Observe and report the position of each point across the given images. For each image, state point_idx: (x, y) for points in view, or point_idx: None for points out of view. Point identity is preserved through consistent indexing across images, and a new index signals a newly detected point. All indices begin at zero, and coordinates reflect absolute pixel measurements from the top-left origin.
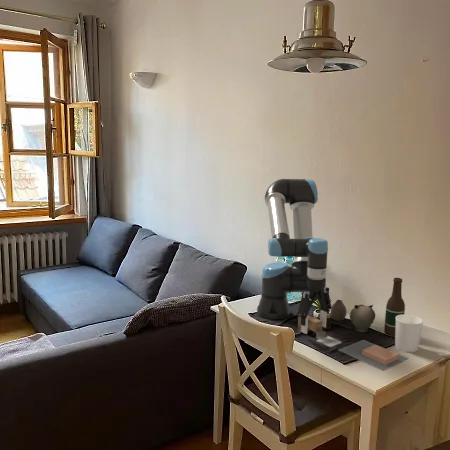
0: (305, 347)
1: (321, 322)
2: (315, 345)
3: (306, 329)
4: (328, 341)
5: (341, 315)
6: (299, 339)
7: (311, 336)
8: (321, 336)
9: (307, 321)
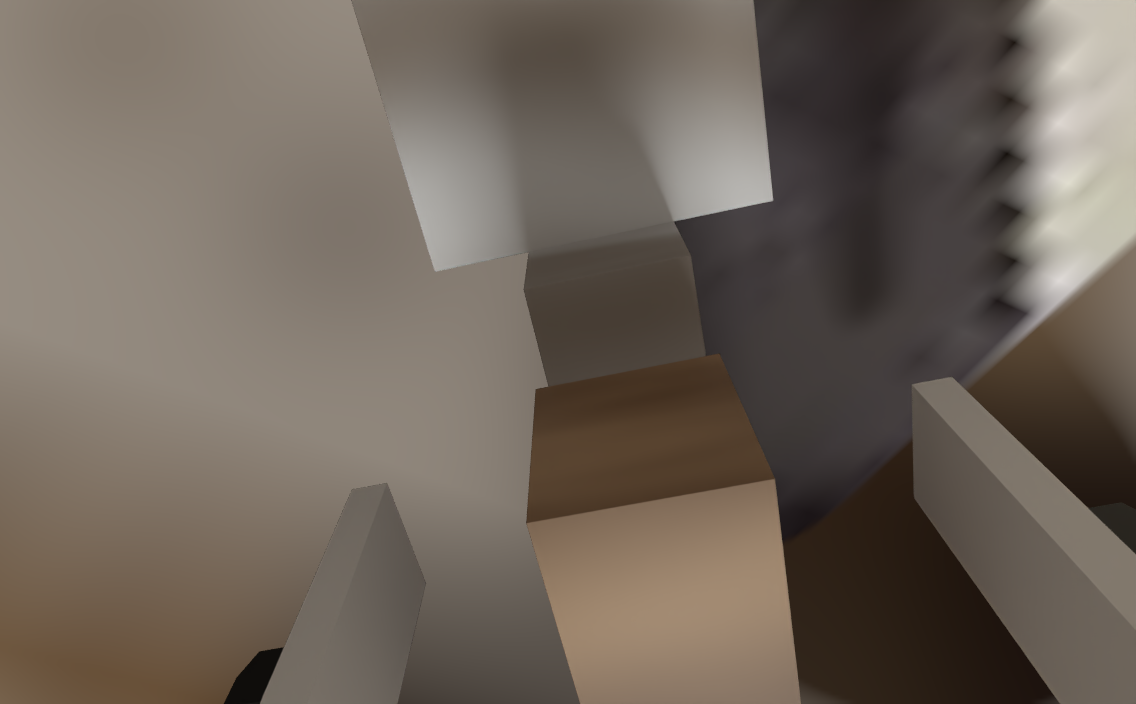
0: (1117, 80)
1: (563, 497)
2: (883, 77)
3: (994, 428)
4: (587, 54)
5: None
6: None
7: None
8: (640, 241)
9: (1101, 566)
